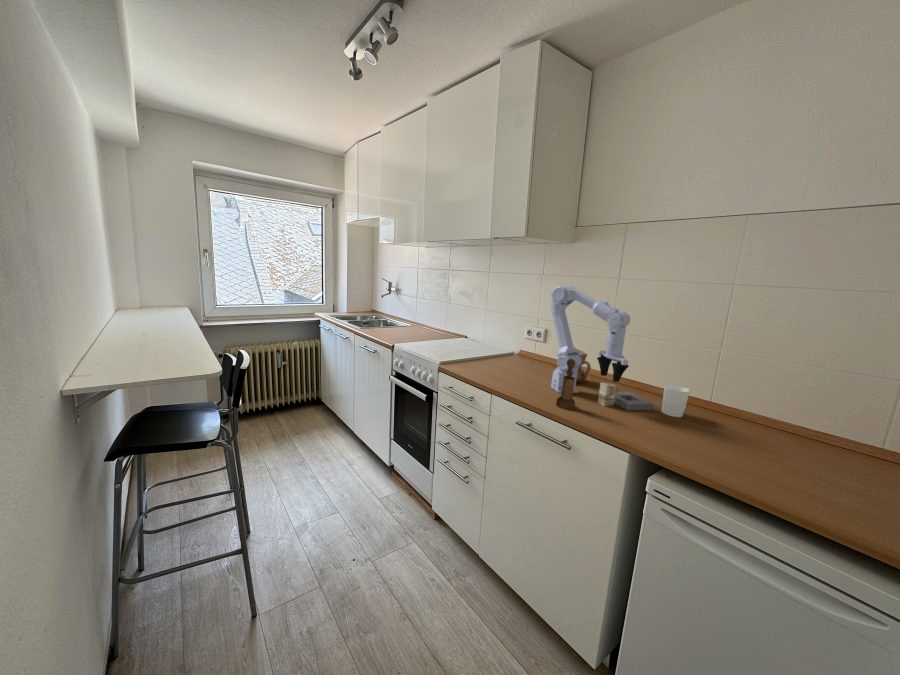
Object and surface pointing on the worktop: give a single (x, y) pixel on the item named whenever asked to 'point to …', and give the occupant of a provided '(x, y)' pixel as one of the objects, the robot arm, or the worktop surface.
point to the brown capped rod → (567, 388)
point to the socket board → (631, 401)
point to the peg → (606, 394)
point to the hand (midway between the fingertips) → (609, 378)
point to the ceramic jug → (581, 373)
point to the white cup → (674, 400)
